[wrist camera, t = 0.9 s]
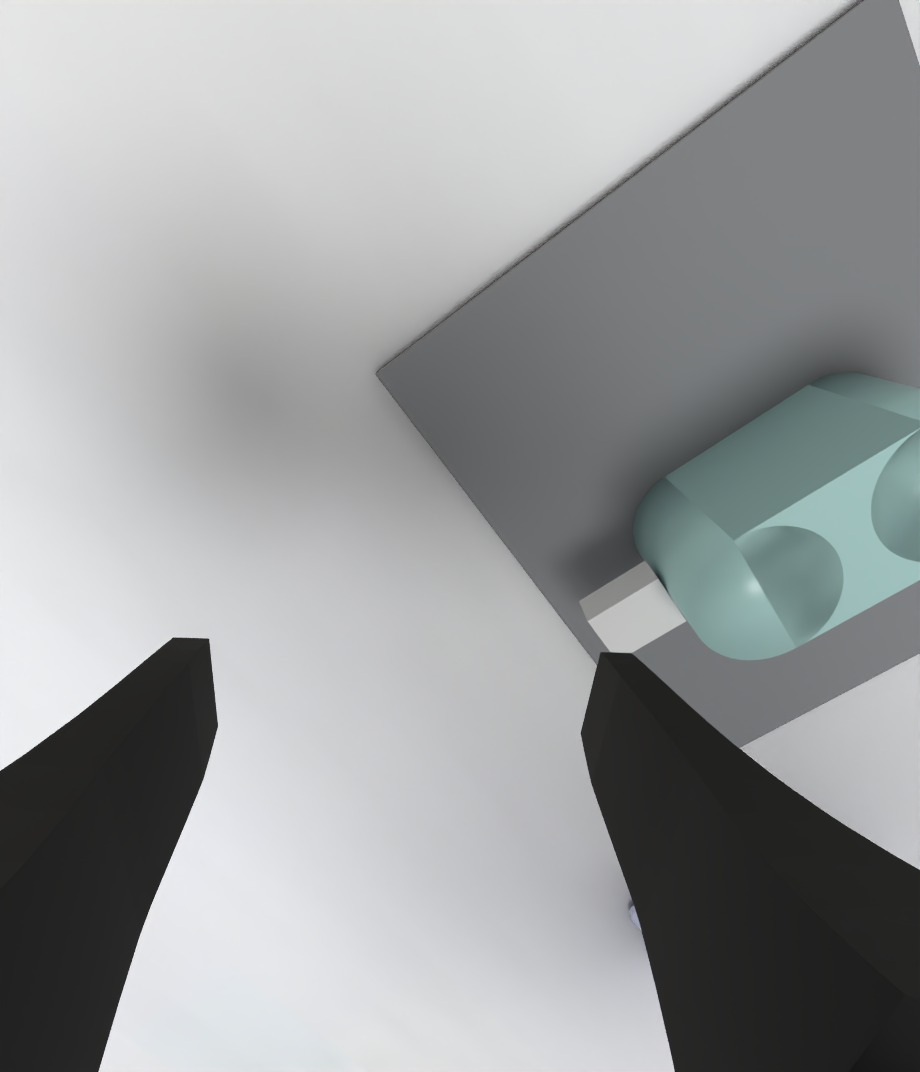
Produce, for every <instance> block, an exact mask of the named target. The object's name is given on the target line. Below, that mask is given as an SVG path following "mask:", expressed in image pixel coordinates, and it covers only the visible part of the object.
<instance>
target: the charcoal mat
mask: <svg viewBox="0 0 920 1072" xmlns="http://www.w3.org/2000/svg"><path fill="white" fill-rule="evenodd" d="M842 372H854V373H861V374H865V375H869V376H873V377H876V378H880V379H884V380H888V381H892V382H896V383H900V384H904V385H908V386H912V387H916V388H920V65H919V62H918V59H917V56H916V53H915V50H914V47H913V43H912V40H911V37H910V34H909V31H908V28H907V25H906V22H905V18H904V15H903V12H902V9H901V6H900V3H899V0H862V1H861V2H860V3H858V4H857V5H856V6H855V7H853V8H852V9H851V10H849V11H848V12H847V13H845V14H844V15H843V16H841V17H840V18H839V19H838V20H836V21H835V22H834V23H832V24H831V25H830V26H828V27H827V28H826V29H824V30H823V31H822V32H821V33H819V34H818V35H817V36H815V37H814V38H813V39H811V40H810V41H809V42H807V43H806V44H805V45H804V46H802V47H801V48H800V49H798V50H797V51H796V52H794V53H793V54H792V55H790V56H789V57H788V58H787V59H785V60H784V61H783V62H781V63H780V64H779V65H777V66H776V67H775V68H773V69H772V70H771V71H770V72H768V73H767V74H766V75H764V76H763V77H762V78H760V79H759V80H758V81H756V82H755V83H754V84H753V85H751V86H750V87H749V88H747V89H746V90H745V91H743V92H742V93H741V94H739V95H738V96H737V97H736V98H734V99H733V100H732V101H730V102H729V103H728V104H726V105H725V106H724V107H722V108H721V109H720V110H719V111H717V112H716V113H715V114H713V115H712V116H711V117H709V118H708V119H707V120H705V121H704V122H703V123H702V124H700V125H699V126H698V127H696V128H695V129H694V130H692V131H691V132H690V133H689V134H687V135H686V136H685V137H683V138H682V139H681V140H679V141H678V142H677V143H675V144H674V145H673V146H672V147H670V148H669V149H668V150H666V151H665V152H664V153H662V154H661V155H660V156H658V157H657V158H656V159H655V160H653V161H652V162H651V163H649V164H648V165H647V166H645V167H644V168H643V169H641V170H640V171H639V172H638V173H636V174H635V175H634V176H632V177H631V178H630V179H628V180H627V181H626V182H624V183H623V184H622V185H621V186H619V187H618V188H617V189H615V190H614V191H613V192H611V193H610V194H609V195H607V196H606V197H605V198H604V199H602V200H601V201H600V202H598V203H597V204H596V205H594V206H593V207H592V208H590V209H589V210H588V211H587V212H585V213H584V214H583V215H581V216H580V217H579V218H577V219H576V220H575V221H573V222H572V223H571V224H570V225H568V226H567V227H566V228H564V229H563V230H562V231H560V232H559V233H558V234H556V235H555V236H554V237H553V238H551V239H550V240H549V241H547V242H546V243H545V244H543V245H542V246H541V247H539V248H538V249H537V250H536V251H534V252H533V253H532V254H530V255H529V256H528V257H526V258H525V259H524V260H522V261H521V262H520V263H519V264H517V265H516V266H515V267H513V268H512V269H511V270H509V271H508V272H507V273H506V274H504V275H503V276H502V277H500V278H499V279H498V280H496V281H495V282H494V283H492V284H491V285H490V286H489V287H487V288H486V289H485V290H483V291H482V292H481V293H479V294H478V295H477V296H475V297H474V298H473V299H472V300H470V301H469V302H468V303H466V304H465V305H464V306H462V307H461V308H460V309H458V310H457V311H456V312H455V313H453V314H452V315H451V316H449V317H448V318H447V319H445V320H444V321H443V322H441V323H440V324H439V325H438V326H436V327H435V328H434V329H432V330H431V331H430V332H428V333H427V334H426V335H424V336H423V337H422V338H421V339H419V340H418V341H417V342H415V343H414V344H413V345H411V346H410V347H409V348H407V349H406V350H405V351H404V352H402V353H401V354H400V355H398V356H397V357H396V358H394V359H393V360H392V361H390V362H389V363H388V364H387V365H385V366H384V367H383V368H381V369H380V370H379V371H377V373H376V376H377V377H378V378H379V380H380V381H381V382H382V383H383V385H384V386H385V387H386V389H387V390H388V391H389V393H390V394H391V395H392V397H393V398H394V399H395V401H396V402H397V403H398V404H399V406H400V407H401V408H402V410H403V411H404V412H405V414H406V415H407V416H408V418H409V419H410V420H411V422H412V423H413V424H414V425H415V427H416V428H417V429H418V431H419V432H420V433H421V435H422V436H423V437H424V439H425V440H426V441H427V443H428V444H429V445H430V446H431V448H432V449H433V450H434V452H435V453H436V454H437V456H438V457H439V458H440V460H441V461H442V462H443V464H444V465H445V466H446V467H447V469H448V470H449V471H450V473H451V474H452V475H453V477H454V478H455V479H456V481H457V482H458V483H459V485H460V486H461V487H462V488H463V490H464V491H465V492H466V494H467V495H468V496H469V498H470V499H471V500H472V502H473V503H474V504H475V506H476V507H477V508H478V510H479V511H480V512H481V513H482V515H483V516H484V517H485V519H486V520H487V521H488V523H489V524H490V525H491V527H492V528H493V529H494V531H495V532H496V533H497V534H498V536H499V537H500V538H501V540H502V541H503V542H504V544H505V545H506V546H507V548H508V549H509V550H510V552H511V553H512V554H513V555H514V557H515V558H516V559H517V561H518V562H519V563H520V565H521V566H522V567H523V569H524V570H525V571H526V573H527V574H528V575H529V576H530V578H531V579H532V580H533V582H534V583H535V584H536V586H537V587H538V588H539V590H540V591H541V592H542V594H543V595H544V596H545V597H546V599H547V600H548V601H549V603H550V604H551V605H552V607H553V608H554V609H555V611H556V612H557V613H558V615H559V616H560V617H561V618H562V620H563V621H564V622H565V624H566V625H567V626H568V628H569V629H570V630H571V632H572V633H573V634H574V636H575V637H576V638H577V639H578V641H579V642H580V643H581V645H582V646H583V647H584V649H585V650H586V651H587V653H588V654H589V655H590V657H591V658H592V659H593V660H594V662H595V663H596V664H598V660H599V656H600V652H610V651H609V650H608V648H607V647H606V645H605V644H604V643H603V641H602V640H601V639H600V637H599V636H598V635H597V633H596V632H595V631H594V629H593V628H592V627H591V625H590V624H589V623H588V621H587V619H586V617H585V614H584V612H583V610H582V607H581V605H580V603H579V601H580V600H582V599H583V598H585V597H587V596H588V595H590V594H591V593H593V592H595V591H596V590H598V589H600V588H601V587H603V586H604V585H606V584H608V583H609V582H611V581H613V580H614V579H616V578H617V577H619V576H621V575H622V574H624V573H626V572H627V571H629V570H630V569H632V568H634V567H635V566H637V565H639V564H640V563H642V562H643V561H644V560H643V558H642V557H641V555H640V554H639V552H638V550H637V548H636V545H635V542H634V537H633V523H634V518H635V514H636V511H637V509H638V506H639V504H640V502H641V501H642V499H643V498H644V496H645V495H646V493H647V492H648V491H649V490H650V489H651V488H652V487H653V486H654V485H655V484H656V483H657V482H658V481H660V480H661V479H662V478H664V477H665V476H667V475H668V474H670V473H671V472H673V471H675V470H676V469H678V468H679V467H681V466H682V465H684V464H685V463H687V462H689V461H690V460H692V459H693V458H695V457H696V456H698V455H700V454H701V453H703V452H704V451H706V450H707V449H709V448H710V447H712V446H714V445H715V444H717V443H718V442H720V441H721V440H723V439H724V438H726V437H728V436H729V435H731V434H732V433H734V432H735V431H737V430H738V429H740V428H742V427H743V426H745V425H746V424H748V423H749V422H751V421H753V420H754V419H756V418H757V417H759V416H760V415H762V414H763V413H765V412H767V411H768V410H770V409H771V408H773V407H774V406H776V405H777V404H779V403H781V402H782V401H784V400H785V399H787V398H788V397H790V396H791V395H793V394H795V393H796V392H798V391H799V390H801V389H802V388H804V387H806V386H807V385H809V384H810V383H812V382H814V381H816V380H818V379H820V378H822V377H825V376H828V375H832V374H836V373H842ZM675 605H676V604H675ZM677 608H678V607H677ZM679 611H680V610H679ZM680 612H681V611H680ZM681 614H682V613H681ZM682 615H683V614H682ZM683 617H684V616H683ZM684 618H685V617H684ZM685 620H686V618H685ZM919 653H920V580H919V581H917V582H915V583H914V584H912V585H910V586H908V587H906V588H904V589H903V590H901V591H899V592H897V593H895V594H894V595H892V596H890V597H888V598H886V599H884V600H883V601H881V602H879V603H877V604H875V605H873V606H872V607H870V608H868V609H866V610H864V611H863V612H861V613H859V614H857V615H855V616H853V617H852V618H850V619H848V620H846V621H844V622H843V623H841V624H839V625H837V626H835V627H833V628H832V629H830V630H828V631H826V632H824V633H822V634H821V635H819V636H817V637H815V638H813V639H812V640H810V641H808V642H806V643H804V644H802V645H801V646H799V647H797V648H795V649H793V650H791V651H789V652H787V653H784V654H781V655H779V656H775V657H772V658H768V659H761V660H738V659H733V658H729V657H726V656H723V655H721V654H719V653H717V652H715V651H713V650H712V649H710V648H709V647H708V646H707V645H705V644H704V643H703V642H702V640H701V639H700V638H699V637H698V635H697V634H696V632H695V631H694V630H693V628H692V627H691V625H690V624H689V623H688V621H687V620H686V622H684V623H682V624H681V625H679V626H677V627H675V628H674V629H672V630H670V631H669V632H667V633H665V634H663V635H662V636H660V637H658V638H656V639H655V640H653V641H651V642H650V643H648V644H646V645H644V646H643V647H641V648H639V649H638V650H636V651H634V652H632V654H633V655H634V656H636V657H637V658H638V659H639V660H640V661H641V662H643V663H644V664H645V665H646V666H647V667H648V668H649V669H650V670H651V671H653V672H654V673H655V674H656V675H657V676H658V677H659V678H660V679H661V680H662V681H663V682H664V683H666V684H667V685H668V686H669V687H670V688H671V689H672V690H673V691H674V692H675V693H676V694H678V695H679V696H680V697H681V698H682V699H683V700H684V701H685V702H686V703H687V704H688V705H690V706H691V707H692V708H693V709H694V710H695V711H696V712H697V713H698V714H700V715H701V716H702V717H703V718H704V719H705V720H706V721H707V722H709V723H710V724H711V725H712V726H713V727H714V728H715V729H717V730H718V731H719V732H720V733H721V734H723V735H724V736H725V737H726V738H727V739H728V740H730V741H731V742H732V743H733V744H734V745H736V746H737V747H738V748H740V747H742V746H744V745H746V744H747V743H749V742H751V741H753V740H755V739H757V738H759V737H761V736H763V735H765V734H767V733H768V732H770V731H772V730H774V729H776V728H778V727H780V726H782V725H784V724H786V723H788V722H789V721H791V720H793V719H795V718H797V717H799V716H801V715H803V714H805V713H807V712H809V711H810V710H812V709H814V708H816V707H818V706H820V705H822V704H824V703H826V702H828V701H830V700H831V699H833V698H835V697H837V696H839V695H841V694H843V693H845V692H847V691H849V690H851V689H852V688H854V687H856V686H858V685H860V684H862V683H864V682H866V681H868V680H870V679H872V678H873V677H875V676H877V675H879V674H881V673H883V672H885V671H887V670H889V669H891V668H893V667H894V666H896V665H898V664H900V663H902V662H904V661H906V660H908V659H910V658H912V657H914V656H915V655H917V654H919Z"/></svg>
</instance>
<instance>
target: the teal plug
mask: <svg viewBox="0 0 920 1072" xmlns="http://www.w3.org/2000/svg"><path fill="white" fill-rule="evenodd" d="M633 537H634V542H635V545H636V548H637V550H638V552H639V554H640V555H641V557H642V558H643V560H644V561H643V562H642V563H640V564H639V565H637V566H635V567H634V568H632V569H630V570H629V571H627V572H626V573H624V574H622V575H621V576H619V577H617V578H616V579H614V580H613V581H611V582H609V583H608V584H606V585H604V586H603V587H601V588H600V589H598V590H596V591H595V592H593V593H591V594H590V595H588V596H587V597H585V598H583V599H582V600H580V601H579V603H580V605H581V607H582V610H583V612H584V614H585V617H586V619H587V621H588V623H589V624H590V625H591V627H592V628H593V629H594V631H595V632H596V633H597V635H598V636H599V637H600V639H601V640H602V641H603V643H604V644H605V645H606V647H607V648H608V650H609V651H610V652H617V653H632V652H634V651H636V650H638V649H639V648H641V647H643V646H644V645H646V644H648V643H650V642H651V641H653V640H655V639H656V638H658V637H660V636H662V635H663V634H665V633H667V632H669V631H670V630H672V629H674V628H675V627H677V626H679V625H681V624H682V623H684V622H686V620H687V621H688V623H689V624H690V625H691V627H692V628H693V630H694V631H695V632H696V634H697V635H698V637H699V638H700V639H701V640H702V642H703V643H704V644H705V645H707V646H708V647H709V648H710V649H712V650H713V651H715V652H717V653H719V654H721V655H723V656H726V657H729V658H733V659H738V660H761V659H768V658H772V657H775V656H779V655H781V654H784V653H787V652H789V651H791V650H793V649H795V648H797V647H799V646H801V645H802V644H804V643H806V642H808V641H810V640H812V639H813V638H815V637H817V636H819V635H821V634H822V633H824V632H826V631H828V630H830V629H832V628H833V627H835V626H837V625H839V624H841V623H843V622H844V621H846V620H848V619H850V618H852V617H853V616H855V615H857V614H859V613H861V612H863V611H864V610H866V609H868V608H870V607H872V606H873V605H875V604H877V603H879V602H881V601H883V600H884V599H886V598H888V597H890V596H892V595H894V594H895V593H897V592H899V591H901V590H903V589H904V588H906V587H908V586H910V585H912V584H914V583H915V582H917V581H919V580H920V388H916V387H912V386H908V385H904V384H900V383H896V382H892V381H888V380H884V379H880V378H876V377H873V376H869V375H865V374H861V373H854V372H842V373H836V374H832V375H828V376H825V377H822V378H820V379H818V380H816V381H814V382H812V383H810V384H809V385H807V386H806V387H804V388H802V389H801V390H799V391H798V392H796V393H795V394H793V395H791V396H790V397H788V398H787V399H785V400H784V401H782V402H781V403H779V404H777V405H776V406H774V407H773V408H771V409H770V410H768V411H767V412H765V413H763V414H762V415H760V416H759V417H757V418H756V419H754V420H753V421H751V422H749V423H748V424H746V425H745V426H743V427H742V428H740V429H738V430H737V431H735V432H734V433H732V434H731V435H729V436H728V437H726V438H724V439H723V440H721V441H720V442H718V443H717V444H715V445H714V446H712V447H710V448H709V449H707V450H706V451H704V452H703V453H701V454H700V455H698V456H696V457H695V458H693V459H692V460H690V461H689V462H687V463H685V464H684V465H682V466H681V467H679V468H678V469H676V470H675V471H673V472H671V473H670V474H668V475H667V476H665V477H664V478H662V479H661V480H660V481H658V482H657V483H656V484H655V485H654V486H653V487H652V488H651V489H650V490H649V491H648V492H647V493H646V495H645V496H644V498H643V499H642V501H641V502H640V504H639V506H638V509H637V511H636V514H635V518H634V523H633ZM675 604H676V605H675ZM677 607H678V608H677ZM679 610H680V611H681V612H680V611H679ZM681 613H682V614H683V615H682V614H681ZM683 616H684V617H685V618H686V620H685V618H684V617H683Z"/></svg>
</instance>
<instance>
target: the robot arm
mask: <svg viewBox="0 0 920 1072" xmlns="http://www.w3.org/2000/svg"><path fill="white" fill-rule="evenodd" d="M217 728H218V722H217V712H216V703H215V693H214V683H213V673H212V664H211V654H210V644H209V639H202V638H172V639H171V640H170V641H168V642H167V643H166V644H165V645H163V646H162V647H161V648H160V649H159V650H157V651H156V652H155V653H154V654H153V655H151V656H150V657H149V658H148V659H146V660H145V661H144V662H143V663H142V664H140V665H139V666H138V667H137V668H136V669H134V670H133V671H132V672H131V673H130V674H128V675H127V676H126V677H125V678H124V679H122V680H121V681H120V682H119V683H118V684H116V685H115V686H114V687H113V688H112V689H110V690H109V691H108V692H107V693H105V694H104V695H103V696H102V697H100V698H99V699H98V700H97V701H95V702H94V703H93V704H91V705H90V706H89V707H88V708H86V709H85V710H84V711H83V712H81V713H80V714H79V715H78V716H76V717H75V718H74V719H72V720H71V721H69V722H68V723H67V724H65V725H64V726H63V727H61V728H60V729H59V730H57V731H56V732H55V733H53V734H52V735H50V736H49V737H48V738H46V739H45V740H44V741H42V742H41V743H40V744H38V745H37V746H35V747H34V748H33V749H31V750H30V751H29V752H27V753H26V754H24V755H23V756H22V757H20V758H19V759H17V760H16V761H14V762H13V763H11V764H10V765H8V766H7V767H5V768H4V769H2V770H1V771H0V1072H98V1071H99V1068H100V1064H101V1061H102V1057H103V1054H104V1051H105V1047H106V1044H107V1040H108V1037H109V1034H110V1030H111V1027H112V1024H113V1020H114V1017H115V1013H116V1010H117V1007H118V1003H119V1000H120V997H121V994H122V990H123V987H124V984H125V981H126V978H127V975H128V971H129V968H130V965H131V962H132V959H133V955H134V952H135V949H136V946H137V943H138V939H139V936H140V933H141V931H142V928H143V925H144V923H145V920H146V917H147V915H148V912H149V909H150V907H151V904H152V902H153V899H154V897H155V894H156V892H157V890H158V887H159V885H160V883H161V880H162V878H163V875H164V873H165V871H166V868H167V866H168V863H169V861H170V859H171V856H172V854H173V851H174V849H175V847H176V844H177V842H178V840H179V837H180V835H181V832H182V830H183V828H184V825H185V823H186V820H187V818H188V816H189V813H190V811H191V808H192V806H193V803H194V801H195V798H196V796H197V794H198V791H199V789H200V786H201V784H202V781H203V778H204V775H205V771H206V768H207V765H208V761H209V758H210V754H211V750H212V746H213V743H214V739H215V735H216V731H217ZM581 737H582V742H583V747H584V752H585V757H586V761H587V766H588V770H589V775H590V779H591V783H592V786H593V789H594V792H595V795H596V798H597V801H598V804H599V807H600V810H601V813H602V816H603V818H604V821H605V824H606V827H607V830H608V833H609V835H610V838H611V841H612V844H613V847H614V850H615V852H616V855H617V858H618V861H619V864H620V866H621V869H622V872H623V875H624V878H625V881H626V883H627V886H628V889H629V892H630V895H631V897H632V900H633V904H634V905H633V906H632V907H631V908H630V910H629V914H630V917H631V920H632V922H633V923H634V924H635V925H636V926H637V927H638V928H639V929H640V930H641V931H642V934H643V938H644V942H645V946H646V950H647V954H648V958H649V962H650V966H651V970H652V974H653V978H654V982H655V985H656V990H657V994H658V998H659V1003H660V1007H661V1011H662V1016H663V1020H664V1024H665V1029H666V1033H667V1037H668V1042H669V1046H670V1050H671V1055H672V1060H673V1064H674V1069H675V1072H920V870H919V869H917V868H915V867H914V866H912V865H910V864H908V863H907V862H905V861H903V860H901V859H899V858H898V857H896V856H894V855H893V854H891V853H889V852H888V851H886V850H884V849H883V848H881V847H879V846H878V845H876V844H875V843H873V842H871V841H870V840H868V839H866V838H865V837H863V836H862V835H860V834H858V833H857V832H855V831H853V830H852V829H850V828H848V827H847V826H845V825H844V824H842V823H841V822H839V821H838V820H836V819H835V818H833V817H832V816H830V815H829V814H827V813H825V812H824V811H823V810H821V809H820V808H818V807H817V806H815V805H814V804H813V803H811V802H810V801H808V800H807V799H805V798H804V797H803V796H801V795H800V794H798V793H797V792H795V791H794V790H793V789H791V788H790V787H788V786H787V785H786V784H784V783H783V782H781V781H780V780H779V779H777V778H776V777H775V776H773V775H772V774H771V773H769V772H768V771H767V770H766V769H764V768H763V767H762V766H761V765H759V764H758V763H757V762H756V761H754V760H753V759H752V758H751V757H749V756H748V755H747V754H746V753H744V752H743V751H742V750H741V749H739V748H738V747H737V746H736V745H734V744H733V743H732V742H731V741H730V740H728V739H727V738H726V737H725V736H724V735H723V734H721V733H720V732H719V731H718V730H717V729H715V728H714V727H713V726H712V725H711V724H710V723H709V722H707V721H706V720H705V719H704V718H703V717H702V716H701V715H700V714H698V713H697V712H696V711H695V710H694V709H693V708H692V707H691V706H690V705H688V704H687V703H686V702H685V701H684V700H683V699H682V698H681V697H680V696H679V695H678V694H676V693H675V692H674V691H673V690H672V689H671V688H670V687H669V686H668V685H667V684H666V683H664V682H663V681H662V680H661V679H660V678H659V677H658V676H657V675H656V674H655V673H654V672H653V671H651V670H650V669H649V668H648V667H647V666H646V665H645V664H644V663H643V662H641V661H640V660H639V659H638V658H637V657H636V656H634V655H633V654H632V653H617V652H600V656H599V660H598V664H597V668H596V672H595V677H594V681H593V685H592V689H591V693H590V697H589V701H588V705H587V709H586V714H585V718H584V722H583V726H582V730H581Z"/></svg>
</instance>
